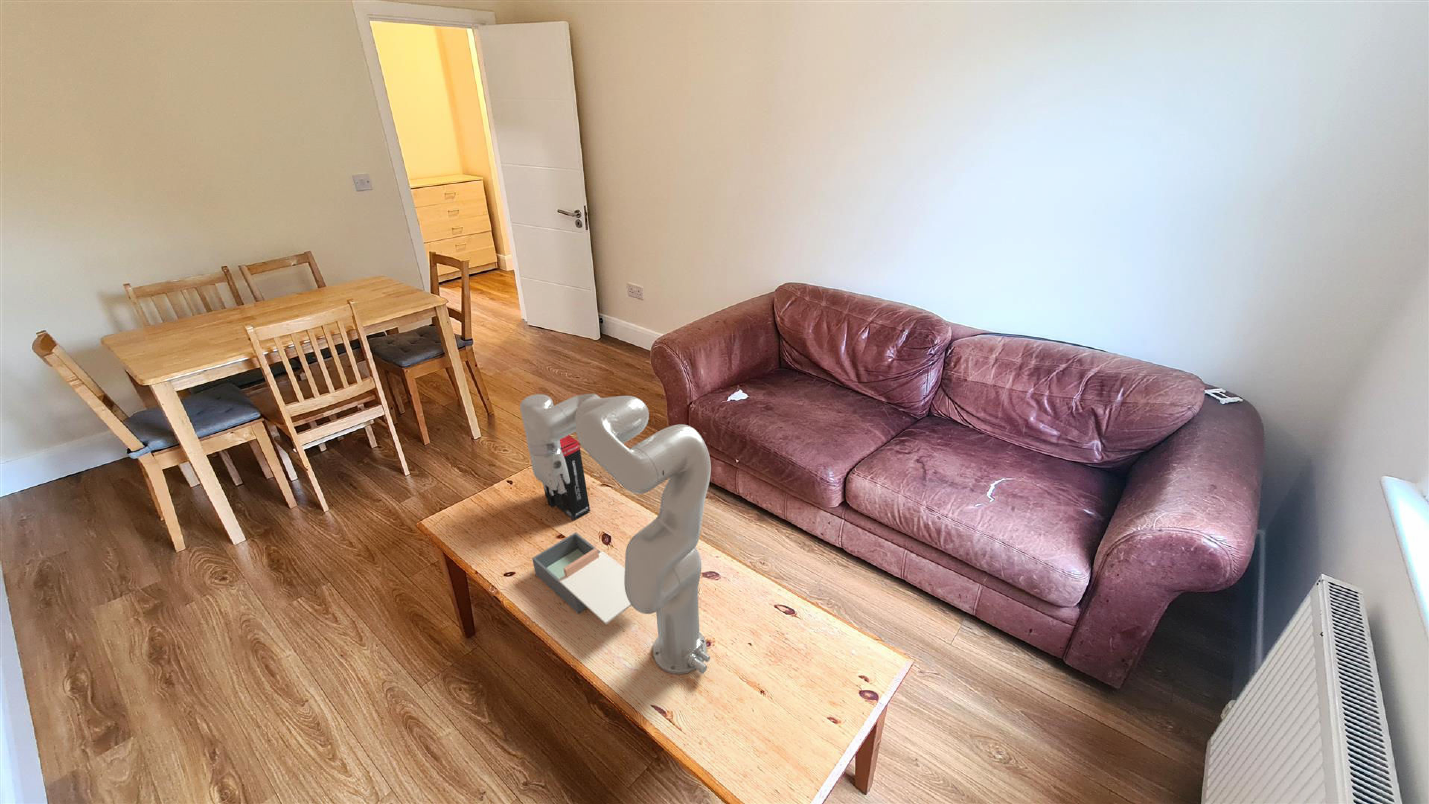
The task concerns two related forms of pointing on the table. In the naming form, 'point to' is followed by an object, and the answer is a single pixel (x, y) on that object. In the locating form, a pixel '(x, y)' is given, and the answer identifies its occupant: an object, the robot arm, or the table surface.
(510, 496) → the table surface
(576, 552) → the box
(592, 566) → the lid
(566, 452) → the graphics card box
